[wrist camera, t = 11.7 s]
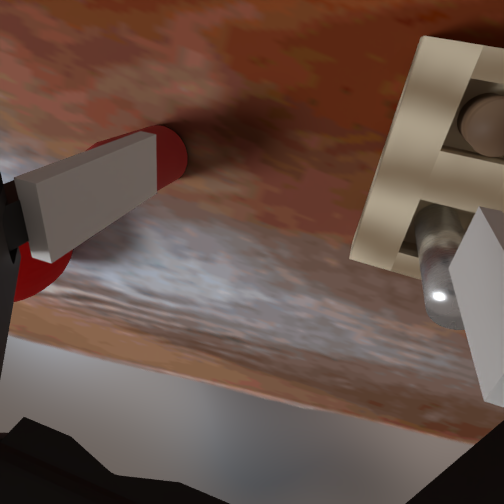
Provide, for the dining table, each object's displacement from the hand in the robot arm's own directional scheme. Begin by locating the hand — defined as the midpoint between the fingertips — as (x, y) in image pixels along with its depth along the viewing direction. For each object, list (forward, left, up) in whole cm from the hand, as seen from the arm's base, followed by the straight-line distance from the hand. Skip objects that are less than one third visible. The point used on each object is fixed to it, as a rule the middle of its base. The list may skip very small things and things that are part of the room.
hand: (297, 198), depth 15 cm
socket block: (+3, +11, -24) cm, 27 cm away
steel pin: (+8, +11, -23) cm, 27 cm away
